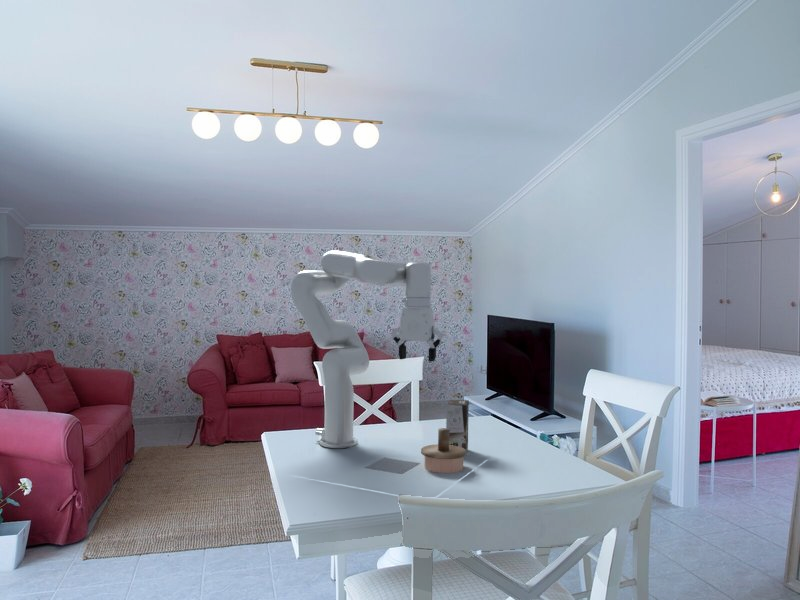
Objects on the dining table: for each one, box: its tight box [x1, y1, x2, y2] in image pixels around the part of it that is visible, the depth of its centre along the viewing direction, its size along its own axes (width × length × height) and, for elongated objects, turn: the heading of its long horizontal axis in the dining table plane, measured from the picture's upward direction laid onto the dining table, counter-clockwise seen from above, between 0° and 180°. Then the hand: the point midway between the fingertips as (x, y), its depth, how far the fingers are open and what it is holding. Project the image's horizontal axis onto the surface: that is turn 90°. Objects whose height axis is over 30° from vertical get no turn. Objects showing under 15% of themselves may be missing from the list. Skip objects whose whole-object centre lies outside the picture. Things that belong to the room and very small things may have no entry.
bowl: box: [423, 455, 465, 474], centre depth 182 cm, size 11×11×4 cm
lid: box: [420, 427, 467, 459], centre depth 182 cm, size 13×13×7 cm
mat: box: [364, 457, 421, 475], centre depth 182 cm, size 12×12×1 cm
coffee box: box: [445, 399, 470, 454], centre depth 199 cm, size 9×6×16 cm
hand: (417, 360), depth 189 cm, fingers open, 9 cm apart
